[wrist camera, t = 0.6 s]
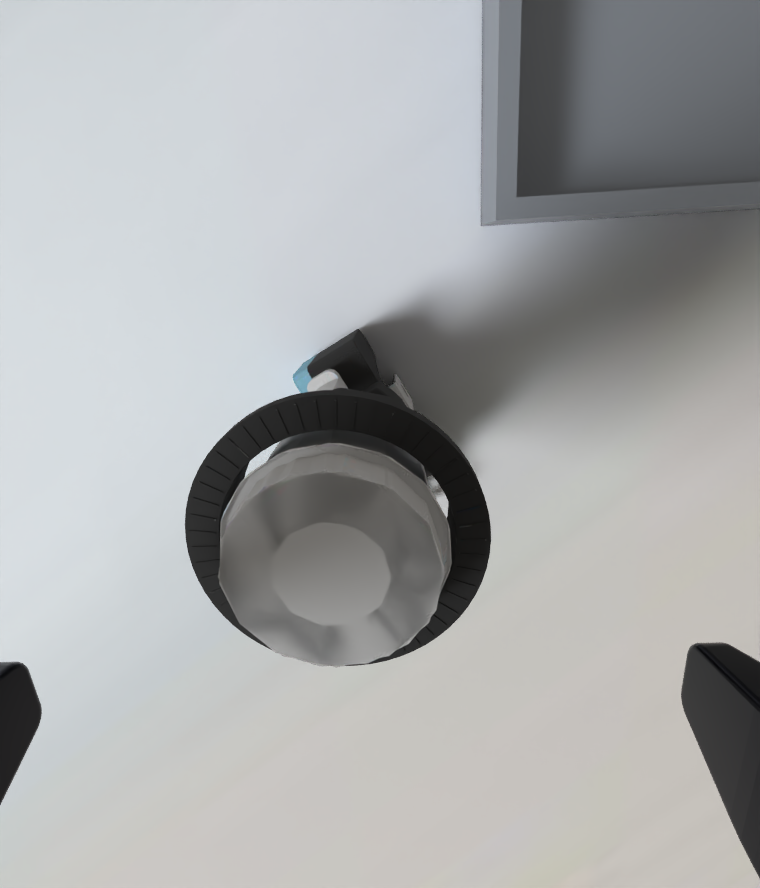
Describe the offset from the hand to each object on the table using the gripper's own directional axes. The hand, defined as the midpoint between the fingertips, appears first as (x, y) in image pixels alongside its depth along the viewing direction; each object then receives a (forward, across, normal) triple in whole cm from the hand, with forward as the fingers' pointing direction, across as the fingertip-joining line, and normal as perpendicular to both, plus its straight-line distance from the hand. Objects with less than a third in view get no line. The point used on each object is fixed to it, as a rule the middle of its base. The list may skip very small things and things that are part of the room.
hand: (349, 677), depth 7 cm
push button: (+12, 0, 0) cm, 12 cm away
